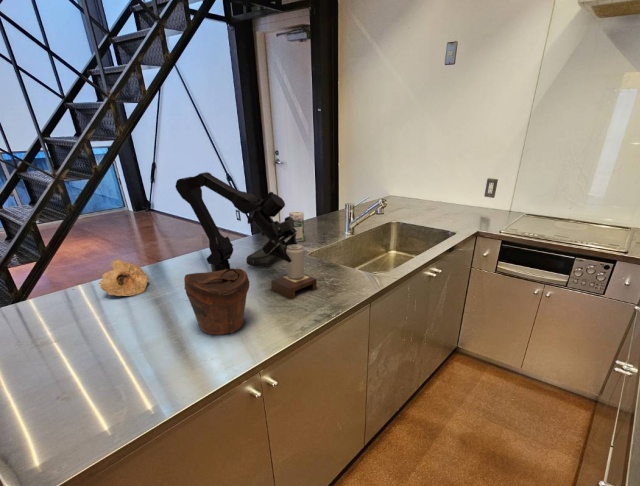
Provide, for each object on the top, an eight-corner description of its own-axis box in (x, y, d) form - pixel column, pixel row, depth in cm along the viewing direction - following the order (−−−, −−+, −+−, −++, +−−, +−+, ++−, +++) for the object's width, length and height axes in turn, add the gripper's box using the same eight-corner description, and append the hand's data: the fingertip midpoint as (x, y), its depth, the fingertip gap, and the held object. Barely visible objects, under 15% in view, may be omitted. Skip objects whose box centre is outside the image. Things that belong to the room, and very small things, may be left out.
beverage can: (285, 279, 140) (284, 248, 135) (288, 273, 146) (287, 243, 140) (302, 280, 140) (302, 249, 134) (305, 274, 146) (304, 244, 140)
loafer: (241, 268, 161) (239, 245, 156) (281, 250, 184) (280, 229, 179) (260, 273, 157) (259, 249, 152) (298, 253, 180) (298, 232, 175)
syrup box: (294, 242, 196) (293, 214, 189) (290, 239, 200) (289, 211, 193) (304, 240, 198) (303, 213, 191) (299, 237, 203) (299, 210, 196)
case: (263, 314, 125) (259, 263, 116) (233, 345, 108) (225, 288, 99) (215, 307, 129) (208, 257, 120) (179, 335, 112) (167, 279, 103)
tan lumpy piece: (143, 310, 139) (143, 296, 134) (98, 305, 134) (96, 290, 128) (151, 277, 150) (151, 262, 145) (109, 271, 145) (108, 256, 140)
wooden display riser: (290, 298, 136) (290, 288, 134) (271, 290, 142) (270, 279, 140) (316, 288, 144) (316, 278, 142) (297, 280, 151) (296, 270, 149)
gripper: (268, 216, 125) (300, 252, 127) (291, 205, 140) (318, 237, 143) (249, 237, 131) (279, 271, 133) (273, 224, 146) (300, 255, 149)
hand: (295, 257), depth 139 cm, fingers open, 9 cm apart
